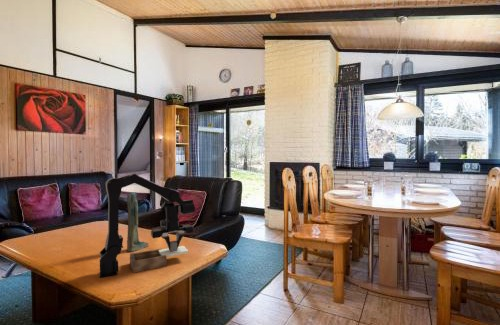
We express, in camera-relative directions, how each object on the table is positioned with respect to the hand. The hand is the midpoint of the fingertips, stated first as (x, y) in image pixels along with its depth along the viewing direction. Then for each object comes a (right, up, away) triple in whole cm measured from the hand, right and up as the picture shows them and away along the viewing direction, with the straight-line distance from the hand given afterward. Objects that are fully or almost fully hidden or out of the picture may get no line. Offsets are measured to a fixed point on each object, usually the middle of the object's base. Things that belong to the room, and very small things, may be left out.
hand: (173, 249), depth 134 cm
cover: (0, -2, 0) cm, 2 cm away
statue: (-25, -5, +19) cm, 31 cm away
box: (-10, -5, -5) cm, 12 cm away
